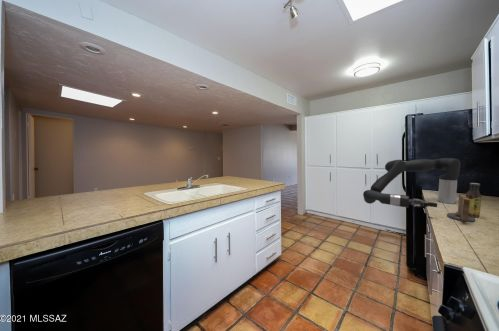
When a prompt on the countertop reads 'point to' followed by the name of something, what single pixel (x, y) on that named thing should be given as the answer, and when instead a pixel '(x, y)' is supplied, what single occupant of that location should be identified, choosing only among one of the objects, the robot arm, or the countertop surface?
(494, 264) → the countertop surface
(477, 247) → the countertop surface
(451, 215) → the base
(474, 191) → the sauce bottle
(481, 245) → the countertop surface
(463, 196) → the brown wooden block
